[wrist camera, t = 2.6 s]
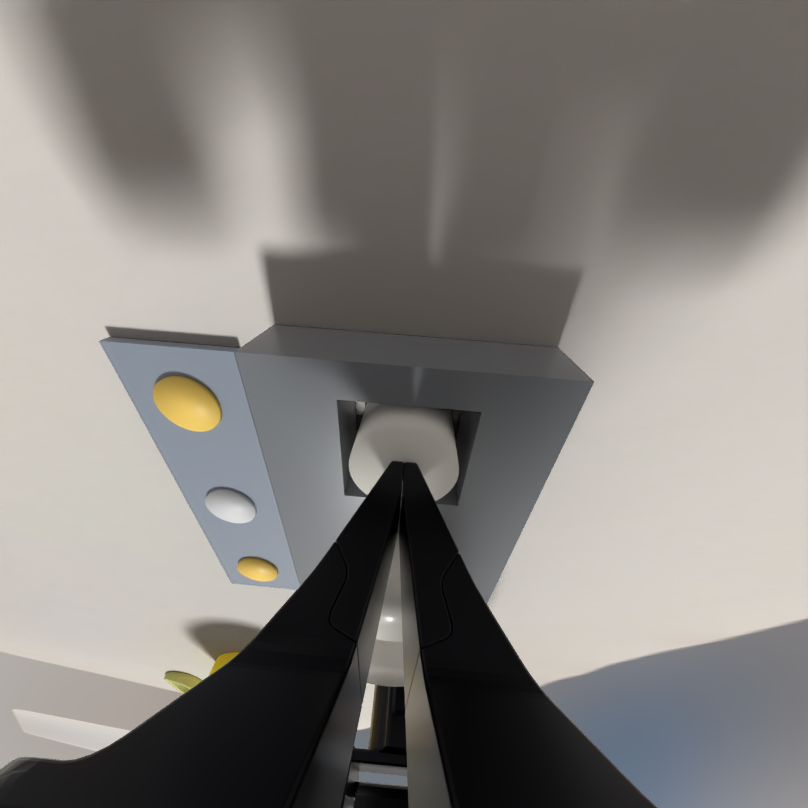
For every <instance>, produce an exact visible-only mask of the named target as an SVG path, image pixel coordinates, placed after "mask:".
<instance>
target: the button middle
mask: <svg viewBox="0 0 808 808" xmlns="http://www.w3.org/2000/svg"><path fill="white" fill-rule="evenodd" d="M376 639H378V640H383V641H392V642H403V636H402V608H401V580H400V551H399V533H398V534H397V540H396V544H395V549H394V554H393V559H392V564H391V568H390V573H389V578H388V583H387V587H386V592H385V597H384V602H383V607H382V611H381V616H380V621H379V626H378V631H377V635H376Z"/></svg>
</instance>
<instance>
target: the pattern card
mask: <svg viewBox="0 0 808 808" xmlns="http://www.w3.org/2000/svg"><path fill="white" fill-rule="evenodd" d="M99 342H100V343H101V345H102V347H103V349H104V351H105V353H106V354H107V356H108V358H109V360H110V362H111V363H112V365H113V367H114V369H115V371H116V373H117V374H118V376H119V378H120V380H121V382H122V384H123V385H124V387H125V389H126V391H127V393H128V395H129V396H130V398H131V400H132V402H133V404H134V406H135V407H136V409H137V411H138V413H139V415H140V417H141V418H142V420H143V422H144V424H145V426H146V428H147V429H148V431H149V433H150V435H151V437H152V439H153V440H154V442H155V444H156V446H157V448H158V449H159V451H160V453H161V455H162V457H163V459H164V460H165V462H166V464H167V466H168V468H169V470H170V471H171V473H172V475H173V477H174V479H175V481H176V482H177V484H178V486H179V488H180V490H181V492H182V493H183V495H184V497H185V499H186V501H187V503H188V504H189V506H190V508H191V510H192V512H193V514H194V515H195V517H196V519H197V521H198V523H199V525H200V526H201V528H202V530H203V532H204V534H205V536H206V537H207V539H208V541H209V543H210V545H211V546H212V548H213V550H214V552H215V554H216V556H217V557H218V559H219V561H220V563H221V565H222V567H223V568H224V570H225V572H226V574H227V576H228V578H229V579H230V581H231V583H233V584H243V585H254V586H264V587H274V588H284V589H294V590H297V589H298V588H299V587H300V583H299V579H298V575H297V572H296V568H295V565H294V561H293V558H292V554H291V551H290V547H289V544H288V540H287V536H286V533H285V529H284V526H283V522H282V519H281V515H280V512H279V508H278V505H277V501H276V497H275V494H274V490H273V487H272V483H271V480H270V476H269V473H268V469H267V466H266V462H265V458H264V455H263V451H262V448H261V444H260V441H259V437H258V434H257V430H256V426H255V423H254V419H253V416H252V412H251V409H250V405H249V402H248V398H247V395H246V391H245V387H244V384H243V380H242V377H241V373H240V370H239V366H238V363H237V359H236V356H235V351H237V350H238V349H240V348H235V347H223V346H211V345H199V344H186V343H174V342H162V341H150V340H138V339H126V338H113V337H108V338H106V339H103V340H100V341H99Z"/></svg>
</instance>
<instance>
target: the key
mask: <svg viewBox="0 0 808 808" xmlns="http://www.w3.org/2000/svg"><path fill="white" fill-rule="evenodd" d="M164 679H165V680H166V681H167V682H168V683H169V684H171V685H172V686H173V687H174V688H176V689H177V690H179V691H180V692H182V693H183V694H184V693H186V692H187V691H188V690H190V689H191V688H193V687H194V686H196V685H197V684H198V683H200V682H201V681H202V680H201V679H199V678H197V677H195V676H193V675H190V674H186V673H181V672H168V673H166V675H165V678H164Z"/></svg>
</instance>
